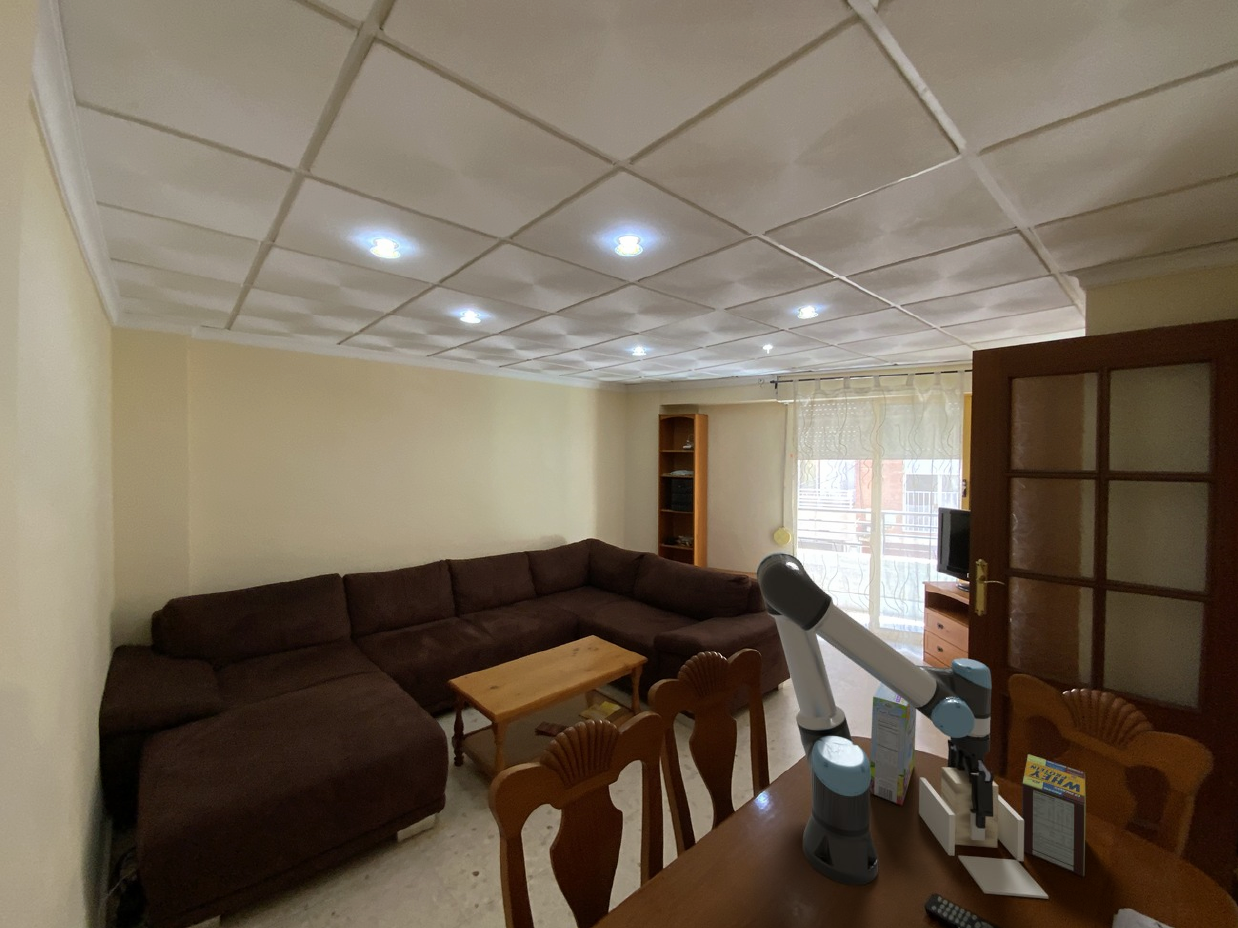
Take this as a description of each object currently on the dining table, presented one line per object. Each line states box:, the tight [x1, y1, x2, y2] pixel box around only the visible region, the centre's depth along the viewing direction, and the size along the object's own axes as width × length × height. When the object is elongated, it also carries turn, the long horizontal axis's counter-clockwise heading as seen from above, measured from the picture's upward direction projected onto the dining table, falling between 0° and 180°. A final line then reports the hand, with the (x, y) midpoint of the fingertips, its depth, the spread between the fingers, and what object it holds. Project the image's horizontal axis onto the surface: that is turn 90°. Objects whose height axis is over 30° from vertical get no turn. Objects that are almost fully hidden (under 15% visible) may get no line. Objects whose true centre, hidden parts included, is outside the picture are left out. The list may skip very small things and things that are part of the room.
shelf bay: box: [918, 777, 1025, 862], centre depth 116 cm, size 15×13×9 cm
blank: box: [940, 766, 999, 848], centre depth 116 cm, size 9×6×14 cm, turn 85°
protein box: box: [1021, 754, 1087, 877], centre depth 113 cm, size 10×15×16 cm
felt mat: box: [957, 854, 1049, 900], centre depth 104 cm, size 12×9×1 cm
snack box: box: [869, 682, 917, 806], centre depth 136 cm, size 22×9×26 cm, turn 143°
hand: (968, 827), depth 116 cm, fingers closed on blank, 6 cm apart
